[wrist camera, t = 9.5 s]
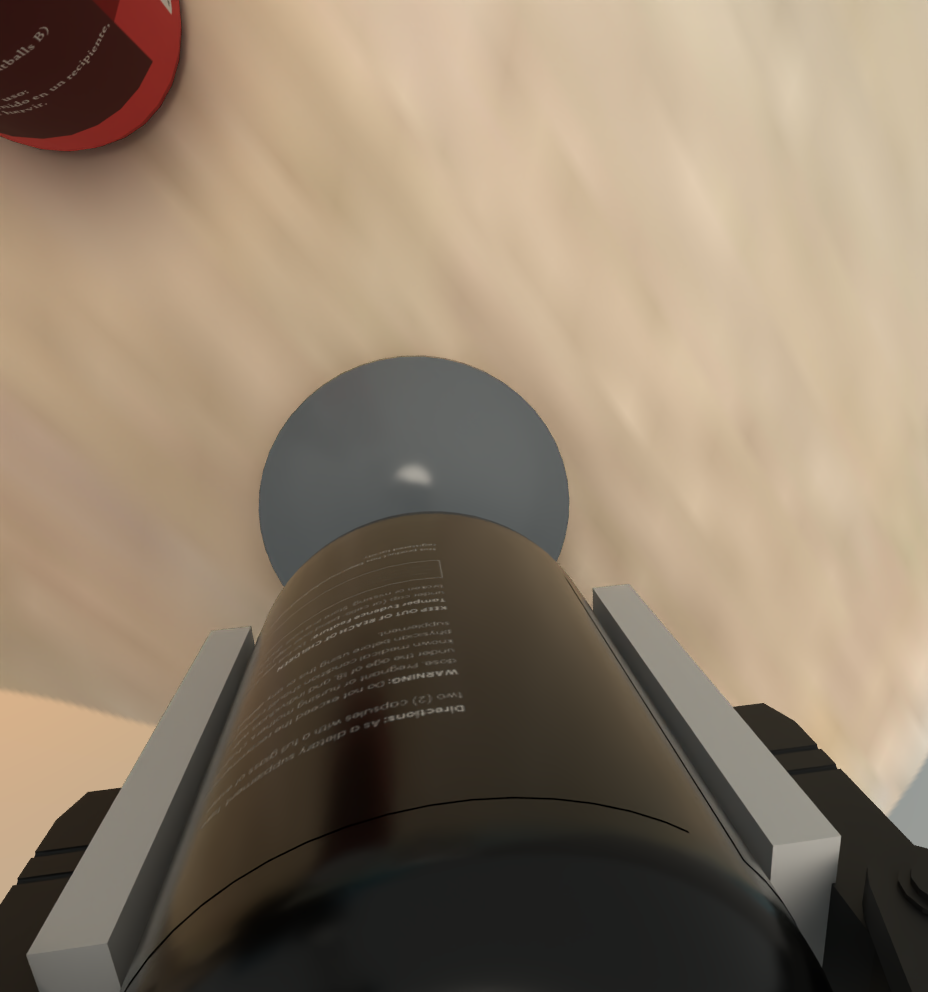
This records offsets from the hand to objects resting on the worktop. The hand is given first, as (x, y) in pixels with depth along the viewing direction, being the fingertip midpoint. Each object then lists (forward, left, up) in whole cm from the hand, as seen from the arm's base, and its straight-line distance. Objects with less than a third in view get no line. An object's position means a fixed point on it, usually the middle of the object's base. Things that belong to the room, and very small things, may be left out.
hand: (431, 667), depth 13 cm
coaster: (0, 0, -11) cm, 11 cm away
